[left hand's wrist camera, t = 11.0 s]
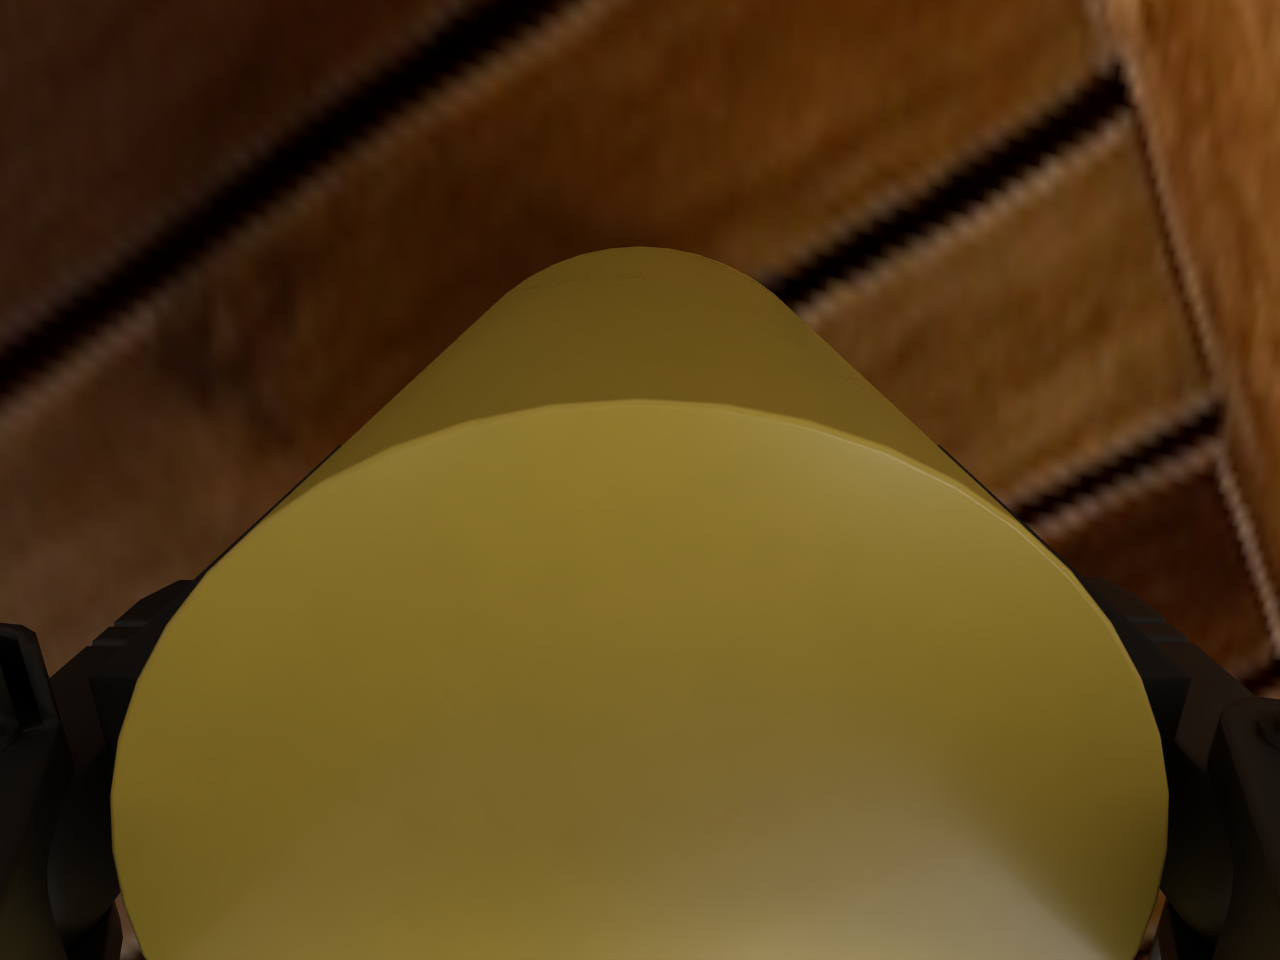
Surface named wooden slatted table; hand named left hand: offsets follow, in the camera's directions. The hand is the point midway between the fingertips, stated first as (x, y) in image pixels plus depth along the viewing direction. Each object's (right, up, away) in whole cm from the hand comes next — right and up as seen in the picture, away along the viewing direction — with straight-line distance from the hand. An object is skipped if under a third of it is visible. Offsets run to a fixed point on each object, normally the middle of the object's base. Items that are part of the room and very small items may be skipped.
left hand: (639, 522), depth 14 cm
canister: (0, +1, +3) cm, 3 cm away
